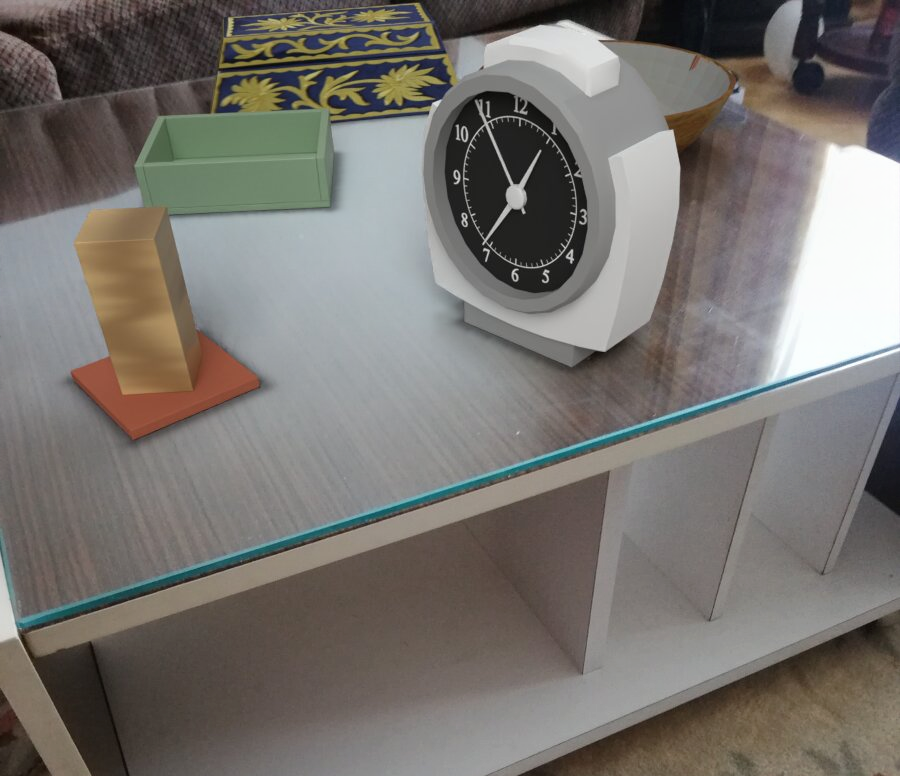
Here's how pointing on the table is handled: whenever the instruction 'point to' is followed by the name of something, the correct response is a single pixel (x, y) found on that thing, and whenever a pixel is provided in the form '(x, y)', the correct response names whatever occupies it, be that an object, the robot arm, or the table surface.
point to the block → (140, 298)
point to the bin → (238, 161)
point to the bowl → (679, 85)
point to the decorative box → (333, 62)
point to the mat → (157, 410)
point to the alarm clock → (551, 194)
